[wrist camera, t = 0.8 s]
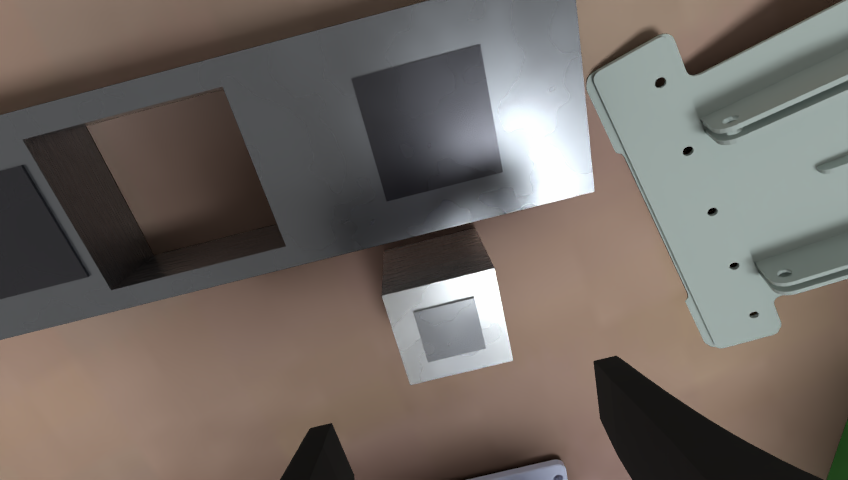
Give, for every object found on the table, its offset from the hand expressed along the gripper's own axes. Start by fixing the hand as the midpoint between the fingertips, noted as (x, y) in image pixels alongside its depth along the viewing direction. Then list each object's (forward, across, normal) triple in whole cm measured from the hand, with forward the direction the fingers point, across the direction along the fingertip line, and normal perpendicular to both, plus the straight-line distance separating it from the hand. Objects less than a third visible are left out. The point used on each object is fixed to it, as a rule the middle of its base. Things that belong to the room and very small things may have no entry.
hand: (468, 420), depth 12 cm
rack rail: (+8, +5, -7) cm, 12 cm away
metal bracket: (+9, -16, -2) cm, 18 cm away
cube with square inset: (+8, 0, 0) cm, 8 cm away
